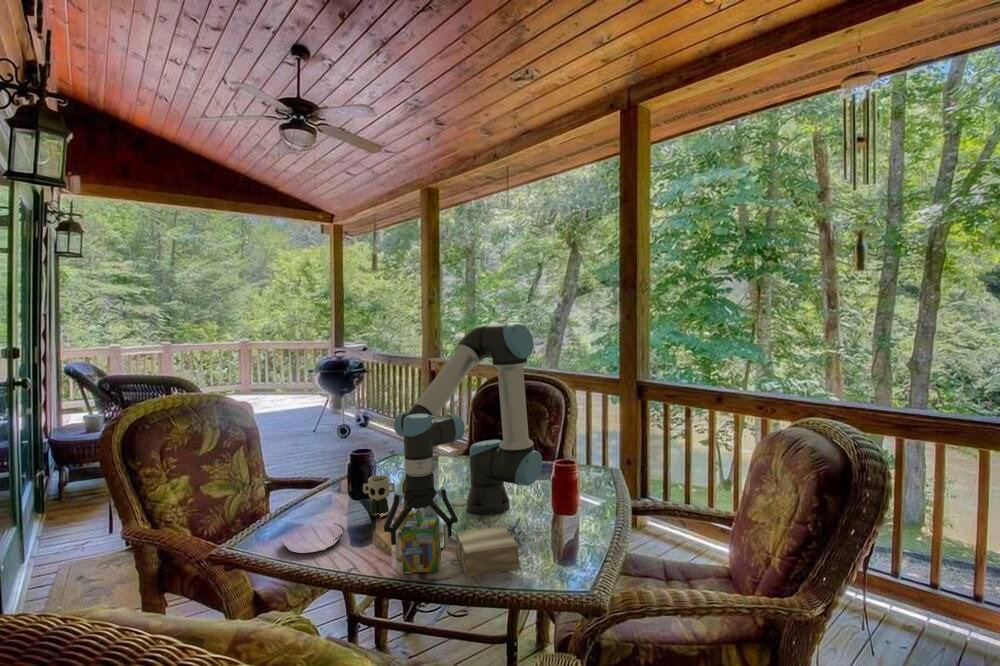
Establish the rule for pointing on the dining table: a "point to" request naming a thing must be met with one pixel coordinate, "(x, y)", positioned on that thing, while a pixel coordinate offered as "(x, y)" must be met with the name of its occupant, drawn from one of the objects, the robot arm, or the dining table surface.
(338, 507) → the dining table surface
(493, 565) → the birch block
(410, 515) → the hand bell
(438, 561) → the chalk box
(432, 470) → the robot arm
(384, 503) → the character mug
